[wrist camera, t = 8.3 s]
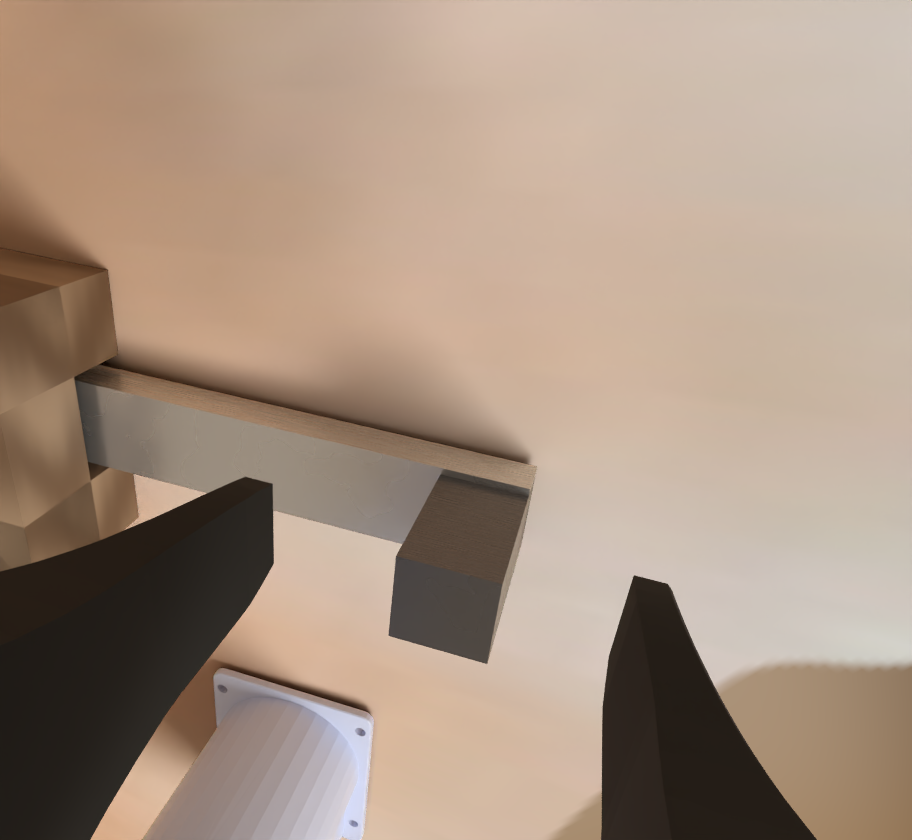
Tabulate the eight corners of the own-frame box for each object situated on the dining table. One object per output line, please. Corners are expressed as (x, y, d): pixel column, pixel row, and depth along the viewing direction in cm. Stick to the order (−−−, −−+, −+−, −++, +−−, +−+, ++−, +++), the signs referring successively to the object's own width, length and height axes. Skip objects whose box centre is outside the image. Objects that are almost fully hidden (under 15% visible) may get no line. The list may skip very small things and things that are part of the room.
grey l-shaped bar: (520, 547, 25) (486, 669, 20) (-32, 407, 29) (-181, 477, 24) (537, 466, 23) (503, 577, 18) (-51, 329, 27) (-216, 387, 22)
